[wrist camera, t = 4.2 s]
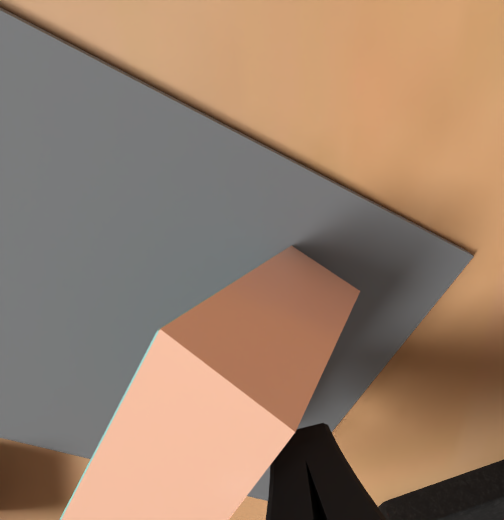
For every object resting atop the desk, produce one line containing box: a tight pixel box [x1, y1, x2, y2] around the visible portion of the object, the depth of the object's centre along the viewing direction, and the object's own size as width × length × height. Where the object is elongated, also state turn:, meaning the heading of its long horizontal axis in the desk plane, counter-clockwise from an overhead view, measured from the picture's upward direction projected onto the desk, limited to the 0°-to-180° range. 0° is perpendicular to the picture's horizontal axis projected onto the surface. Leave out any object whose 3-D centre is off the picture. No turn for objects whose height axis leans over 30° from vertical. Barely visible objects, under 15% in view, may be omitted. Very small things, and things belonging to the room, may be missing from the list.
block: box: [60, 246, 360, 520], centre depth 10 cm, size 2×7×6 cm, turn 151°
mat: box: [0, 7, 474, 501], centre depth 13 cm, size 14×12×1 cm
